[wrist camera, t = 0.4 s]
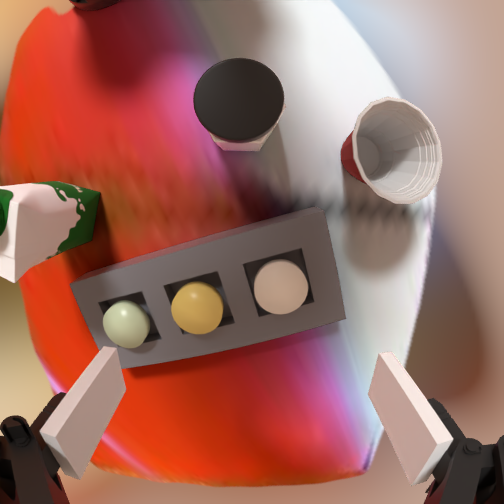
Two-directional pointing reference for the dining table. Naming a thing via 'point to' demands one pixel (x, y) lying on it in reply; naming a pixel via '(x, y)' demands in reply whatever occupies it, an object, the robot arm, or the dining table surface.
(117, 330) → the sage button
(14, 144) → the dining table surface
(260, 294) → the cream button
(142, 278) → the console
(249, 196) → the dining table surface
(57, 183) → the milk carton
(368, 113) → the plastic cup
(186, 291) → the mustard button
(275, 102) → the jar
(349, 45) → the dining table surface
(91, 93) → the dining table surface
